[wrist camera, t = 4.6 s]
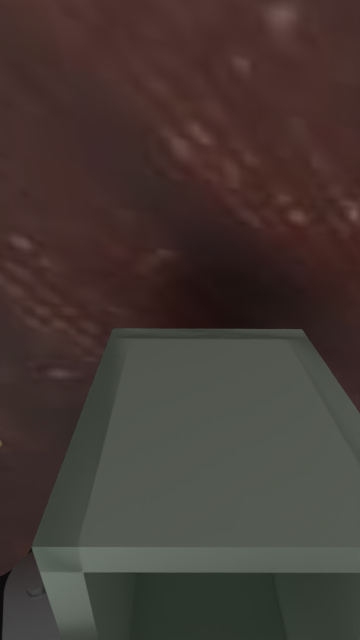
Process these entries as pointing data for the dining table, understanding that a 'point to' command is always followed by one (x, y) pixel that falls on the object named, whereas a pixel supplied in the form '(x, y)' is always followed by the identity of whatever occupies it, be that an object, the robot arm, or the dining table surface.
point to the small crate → (207, 494)
